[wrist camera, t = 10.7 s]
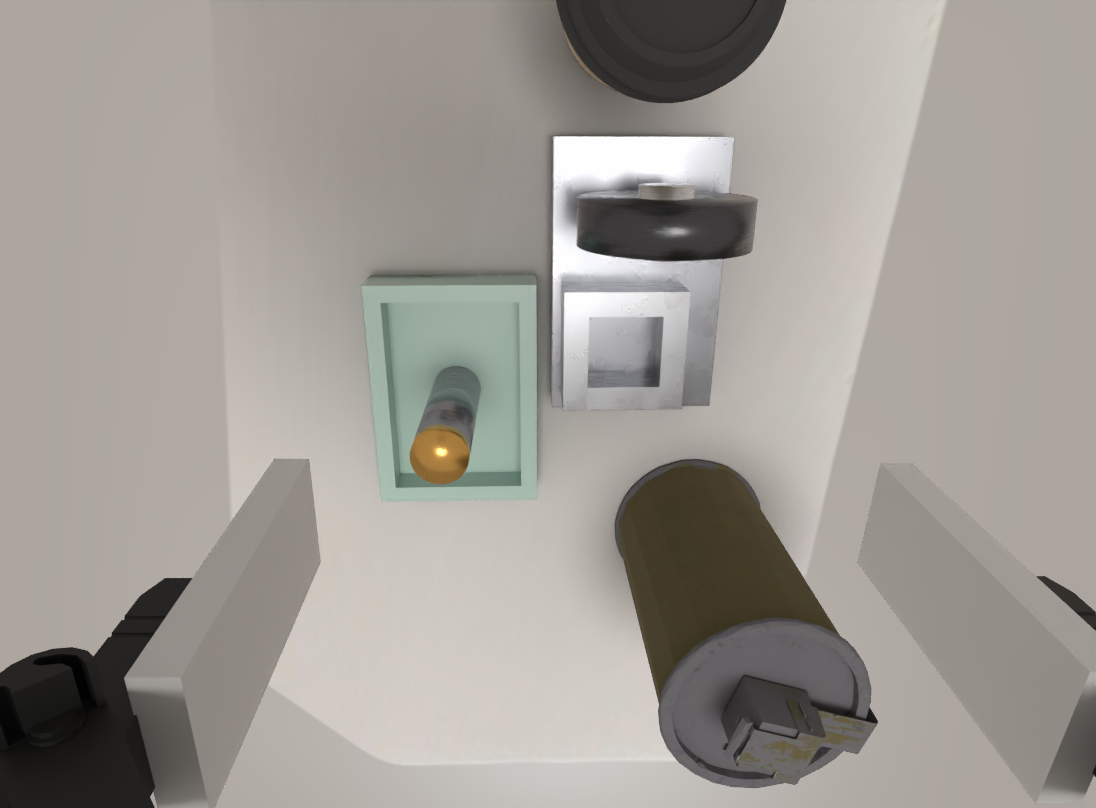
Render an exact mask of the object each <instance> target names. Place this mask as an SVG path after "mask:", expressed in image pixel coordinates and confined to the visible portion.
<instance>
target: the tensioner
mask: <svg viewBox="0 0 1096 808" xmlns="http://www.w3.org/2000/svg"><path fill="white" fill-rule="evenodd" d="M733 145H734V137H725V136H552V269H551V402H552V407H563V410H646V409H682V406H709V404H710V393H711V382H712V371H713V360H714V350H715V339H716V328H717V317H718V306H719V296H720V285H721V274H722V263H723V259H726V258H733V257H738V256H742V255H745V254H748V253H750V252H751V251H752V249H753V239H754V230H755V221H756V211H757V202H758V200H757V199H756V198H754V197H750V196H745V195H739V194H731V193H729V188H730V177H731V166H732V155H733Z"/></svg>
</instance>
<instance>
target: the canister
mask: <svg viewBox="0 0 1096 808" xmlns="http://www.w3.org/2000/svg"><path fill="white" fill-rule="evenodd" d="M615 537H616V543H617V546H618V550H619V553H620V555H621V556H622V558H623V560H624V564H625V568H626V572H627V576H628V580H629V584H630V588H631V592H632V596H633V600H634V604H635V609H636V613H637V617H638V621H639V625H640V629H641V633H642V637H643V641H644V645H645V649H646V653H647V657H648V661H649V665H650V669H651V673H652V677H653V681H654V686H655V690H656V694H657V698H658V702H659V709H658V714H659V725H660V731H661V734H662V737H663V739H664V742H665V744H666V746H667V748H668V749H669V751H670V752H671V753H672V755H673V756H674V757H675V759H676V760H677V761H678V762H679V763H680V764H682V765H683V766H684V767H686V768H687V769H689V770H690V771H691V772H693V773H694V774H696V775H698V776H700V777H702V778H705V779H707V780H709V781H711V782H713V783H717V784H722V785H727V786H730V787H744V788H760V787H765V786H771V785H776V784H782V783H788V784H793V785H795V784H797V783H798V781H799V780H800V778H802V777H804V776H806V775H808V774H810V773H812V772H814V771H816V770H818V769H820V768H821V767H823V766H825V765H826V764H828V763H829V762H831V761H832V760H834V759H835V758H836V757H837V756H838V755H839V754H841V753H842V752H843V751H846V752H851V753H855V754H858V753H859V751H860V750H861V748H862V747H863V745H864V744H865V742H866V741H867V739H868V738H869V736H870V734H871V733H872V731H873V730H874V728H875V727H876V725H877V724H878V721H877V719H876V717H875V715H874V714H873V712H872V710H871V709H870V707H869V706H870V703H871V685H870V681H869V676H868V672H867V670H866V667H865V664H864V662H863V661H862V659H861V658H860V656H859V655H858V653H857V652H856V650H855V649H854V648H853V647H852V646H851V645H850V644H849V643H848V642H847V641H846V640H845V639H843V638H842V637H841V636H840V635H839V633H838V632H837V630H836V629H835V627H834V625H833V624H832V623H831V621H830V619H829V618H828V616H827V614H826V613H825V611H824V610H823V608H822V606H821V605H820V603H819V602H818V600H817V598H816V597H815V595H814V594H813V592H812V591H811V589H810V587H809V586H808V584H807V583H806V581H805V579H804V578H803V576H802V575H801V573H800V571H799V570H798V568H797V567H796V565H795V563H794V562H793V560H792V559H791V557H790V555H789V554H788V552H787V551H786V549H785V548H784V546H783V544H782V543H781V541H780V540H779V538H778V536H777V535H776V533H775V532H774V530H773V528H772V527H771V525H770V524H769V522H768V520H767V519H766V517H765V516H764V514H763V513H762V511H761V508H760V504H759V501H758V498H757V496H756V494H755V492H754V490H753V489H752V487H751V486H750V485H749V483H748V482H747V481H746V480H745V479H743V478H742V477H741V476H740V475H739V474H738V473H736V472H735V471H733V470H732V469H730V468H729V467H726V466H723V465H719V464H715V463H711V462H707V461H701V460H685V461H679V462H676V463H672V464H669V465H666V466H662V467H659V468H657V469H656V470H654V471H652V472H651V473H649V474H648V475H646V476H645V477H643V478H642V479H641V480H640V481H639V482H638V483H637V484H636V485H634V486H633V487H632V488H631V489H630V490H629V491H628V493H627V495H626V497H625V499H624V501H623V503H622V505H621V507H620V509H619V512H618V515H617V519H616V522H615Z"/></svg>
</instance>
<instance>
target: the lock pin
mask: <svg viewBox="0 0 1096 808" xmlns="http://www.w3.org/2000/svg"><path fill="white" fill-rule="evenodd" d="M480 393H481V385H480V381H479V379H478V377H477V376H476V375H475V374H474V373H473V372H472V371H471V370H469V369H467V368H465V367H461V366H451V367H448V368H446V369H444V370H442V371H441V372H440V373H439V374H438V375H437V377H436V379H435V381H434V384H433V387H432V390H431V392H430V395H429V398H428V401H427V404H426V407H425V410H424V412H423V415H422V418H421V421H420V424H419V427H418V429H417V432H416V435H415V438H414V441H413V444H412V447H411V450H410V463H411V466H412V468H413V470H414V471H415V473H416V474H417V475H418V476H419V477H421V478H422V479H423V480H425V481H427V482H430V483H433V484H447V483H451V482H454V481H456V480H457V479H459V478H460V477H461V476H462V475H463V474H464V473H465V471H466V469H467V467H468V464H469V458H470V452H471V446H472V440H473V435H474V429H475V423H476V417H477V411H478V405H479V399H480Z"/></svg>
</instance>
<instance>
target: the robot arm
mask: <svg viewBox="0 0 1096 808" xmlns="http://www.w3.org/2000/svg"><path fill="white" fill-rule="evenodd" d="M320 562H321V561H320V552H319V543H318V534H317V525H316V517H315V508H314V499H313V490H312V481H311V472H310V463H309V459H274V460H273V462H272V463H271V464H270V466H269V467H268V469H267V470H266V472H265V473H264V475H263V476H262V478H261V479H260V481H259V482H258V483H257V485H256V486H255V488H254V489H253V491H252V492H251V494H250V495H249V497H248V498H247V499H246V501H245V502H244V504H243V505H242V507H241V508H240V510H239V511H238V513H237V514H236V515H235V517H234V518H233V520H232V521H231V523H230V524H229V526H228V527H227V529H226V530H225V532H224V533H223V534H222V536H221V537H220V539H219V540H218V542H217V543H216V545H215V546H214V548H213V549H212V550H211V552H210V553H209V555H208V557H207V558H206V559H205V561H204V562H203V564H202V565H201V567H200V568H199V570H198V571H197V572H196V574H195V576H194V577H193V578H165V579H163V580H162V581H161V582H159V583H158V584H156V585H155V586H153V587H152V588H151V589H149V590H148V591H147V592H145V593H144V594H142V595H141V596H140V597H139V598H138V599H137V601H136V602H135V603H134V605H133V606H132V607H131V609H130V610H129V611H128V612H127V614H126V615H125V619H124V620H121V622H120V623H119V624H118V626H117V627H116V628H115V629H114V631H113V632H112V636H111V637H109V638H107V640H106V641H105V642H104V644H103V645H102V646H101V648H100V649H99V650H98V652H97V653H96V654H95V655H94V657H93V656H92V655H91V654H90V653H89V652H88V651H86V650H81V649H77V648H73V647H70V648H58V649H51V650H47V651H44V652H40V653H37V654H33V655H30V656H29V657H26V658H25V659H22V660H20V661H18V662H16V663H14V664H12V665H10V666H9V667H8V668H6V669H5V670H4V671H2V672H1V673H0V808H154V805H153V803H152V801H151V799H150V796H151V794H152V792H154V796H155V800H156V804H157V807H158V808H215V806H216V804H217V801H218V799H219V796H220V794H221V792H222V790H223V787H224V785H225V783H226V780H227V778H228V775H229V773H230V771H231V769H232V766H233V764H234V762H235V759H236V757H237V755H238V752H239V750H240V748H241V746H242V743H243V741H244V739H245V736H246V734H247V731H248V729H249V727H250V725H251V722H252V720H253V718H254V715H255V713H256V710H257V708H258V706H259V704H260V701H261V699H262V697H263V694H264V692H265V690H266V688H267V685H268V683H269V681H270V678H271V676H272V674H273V671H274V669H275V667H276V664H277V662H278V660H279V657H280V655H281V653H282V650H283V648H284V646H285V643H286V641H287V639H288V636H289V634H290V632H291V630H292V627H293V625H294V623H295V620H296V618H297V616H298V613H299V611H300V609H301V606H302V604H303V602H304V599H305V597H306V595H307V592H308V590H309V588H310V585H311V583H312V581H313V578H314V576H315V574H316V572H317V569H318V567H319V565H320ZM858 564H859V565H860V567H861V568H862V569H863V571H864V572H865V573H866V575H867V576H868V577H869V578H870V580H871V581H872V583H873V584H874V585H875V587H876V588H877V590H878V591H879V592H880V594H881V595H882V596H883V598H884V599H885V600H886V602H887V603H888V604H889V606H890V607H891V609H892V610H893V611H894V612H895V614H896V615H897V617H898V618H899V619H900V621H901V622H902V623H903V625H904V626H905V627H906V629H907V630H908V632H909V633H910V634H911V636H912V637H913V638H914V640H915V641H916V642H917V644H918V645H919V646H920V648H921V649H922V650H923V652H924V653H925V654H926V656H927V657H928V659H929V660H930V661H931V662H932V664H933V665H934V667H935V668H936V669H937V671H938V672H939V673H940V675H941V676H942V678H943V679H944V680H945V681H946V683H947V684H948V686H949V687H950V688H951V690H952V691H953V692H954V694H955V695H956V697H957V698H958V699H959V701H960V702H961V703H962V704H963V706H964V707H965V709H966V710H967V711H968V713H969V714H970V715H971V717H972V718H973V720H974V721H975V722H976V724H977V725H978V726H979V728H980V729H981V730H982V732H983V733H984V734H985V736H986V737H987V738H988V740H989V741H990V742H991V744H992V745H993V747H994V748H995V749H996V751H997V752H998V753H999V754H1000V756H1001V757H1002V759H1003V760H1004V761H1005V763H1006V764H1007V766H1008V767H1009V768H1010V769H1011V771H1012V772H1013V774H1014V775H1015V776H1016V778H1017V779H1018V780H1019V782H1020V783H1021V784H1022V786H1023V787H1024V789H1025V790H1026V791H1027V793H1028V794H1029V795H1030V797H1031V798H1032V799H1033V801H1034V802H1035V803H1036V804H1059V803H1060V804H1062V803H1082V801H1083V798H1084V796H1085V794H1086V792H1087V789H1088V787H1089V785H1090V782H1091V780H1092V778H1093V776H1094V775H1095V777H1096V612H1095V611H1094V610H1092V608H1091V607H1089V606H1088V605H1087V604H1086V603H1085V602H1084V601H1083V600H1081V599H1080V598H1079V597H1078V596H1077V595H1076V594H1075V593H1073V592H1071V591H1070V590H1068V589H1066V588H1064V587H1063V586H1061V585H1059V584H1057V583H1056V582H1054V581H1052V580H1050V579H1048V578H1047V577H1045V576H1035V575H1034V574H1033V573H1032V572H1030V570H1028V569H1027V568H1026V567H1025V566H1024V565H1023V564H1022V563H1021V562H1020V561H1019V560H1017V559H1016V558H1015V557H1014V556H1013V555H1012V554H1011V553H1010V552H1009V551H1007V549H1005V548H1004V547H1003V546H1002V545H1001V544H1000V543H999V542H998V541H997V540H996V539H995V538H993V537H992V536H991V535H990V534H989V533H988V532H987V531H986V530H985V529H984V528H982V527H981V526H980V525H979V524H978V523H977V522H976V521H975V520H974V519H973V518H972V517H970V516H969V515H968V514H967V513H966V512H965V511H964V510H963V509H961V507H959V506H958V505H957V504H956V503H955V502H954V501H953V500H952V499H951V498H950V497H949V496H947V495H946V494H945V493H944V492H943V491H942V490H941V489H940V488H939V487H937V486H936V485H935V484H934V483H933V482H932V481H931V480H930V479H929V478H928V477H927V476H925V475H924V474H923V473H922V472H921V471H920V470H919V469H918V468H917V467H916V466H915V465H913V464H888V463H886V464H883V463H881V464H880V468H879V473H878V477H877V481H876V485H875V490H874V494H873V499H872V503H871V507H870V511H869V515H868V520H867V524H866V528H865V532H864V537H863V541H862V546H861V550H860V554H859V558H858Z"/></svg>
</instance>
